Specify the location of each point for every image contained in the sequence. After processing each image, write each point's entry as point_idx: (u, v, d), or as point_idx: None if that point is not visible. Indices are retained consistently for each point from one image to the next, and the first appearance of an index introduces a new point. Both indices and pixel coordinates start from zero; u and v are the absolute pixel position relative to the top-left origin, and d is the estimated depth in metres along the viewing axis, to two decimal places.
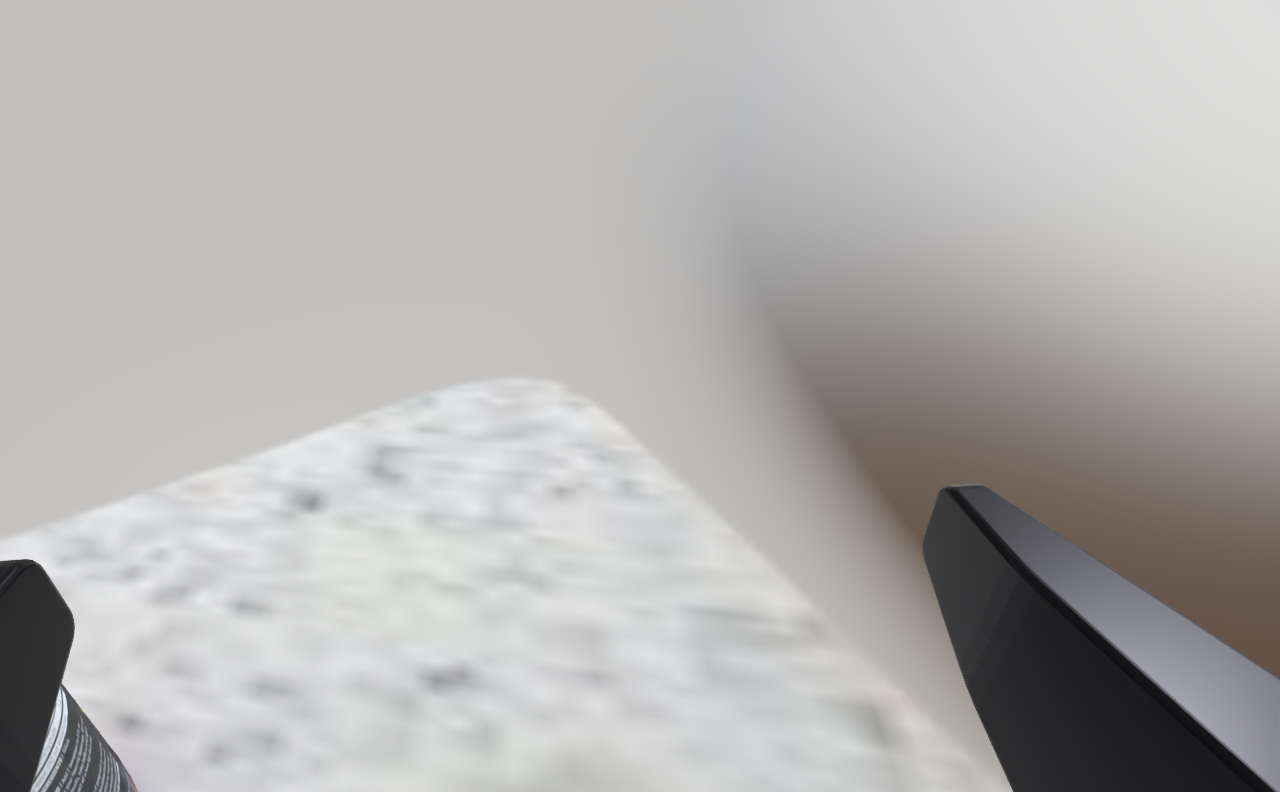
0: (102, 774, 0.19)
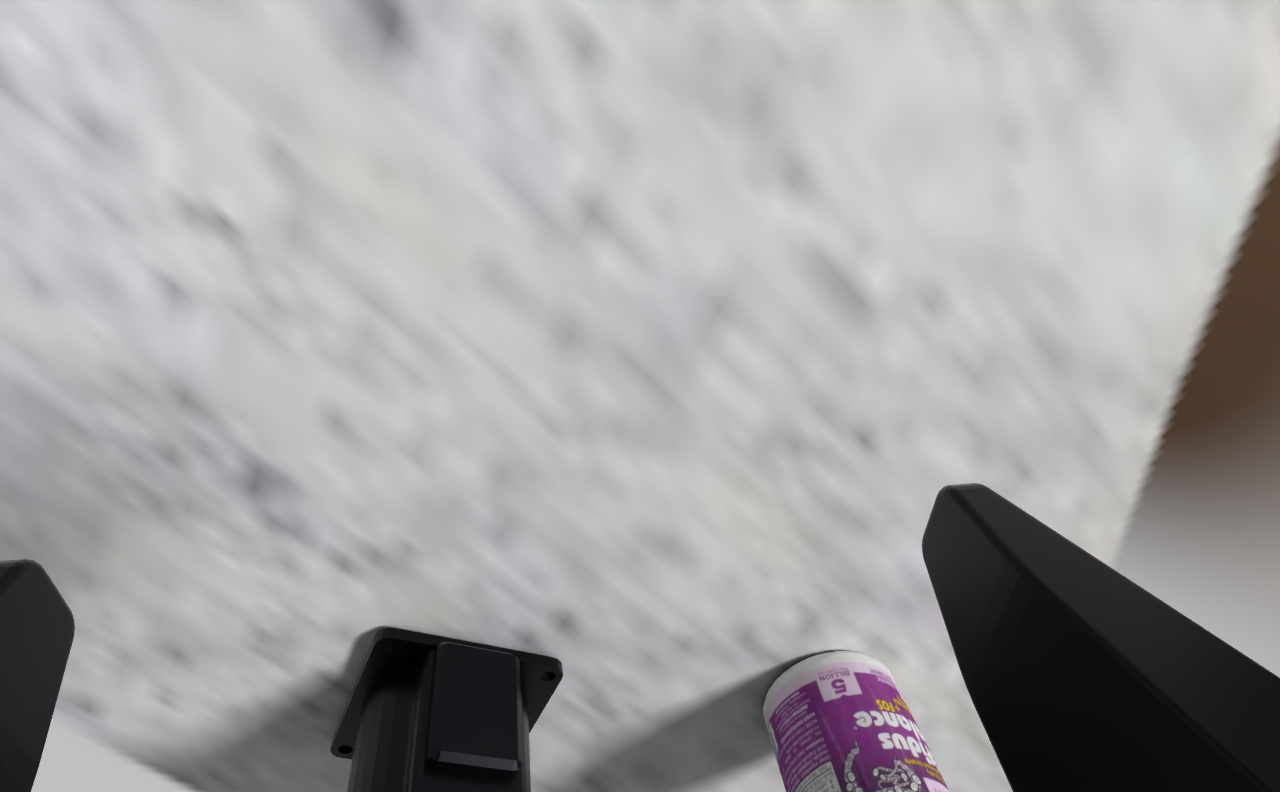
0: None
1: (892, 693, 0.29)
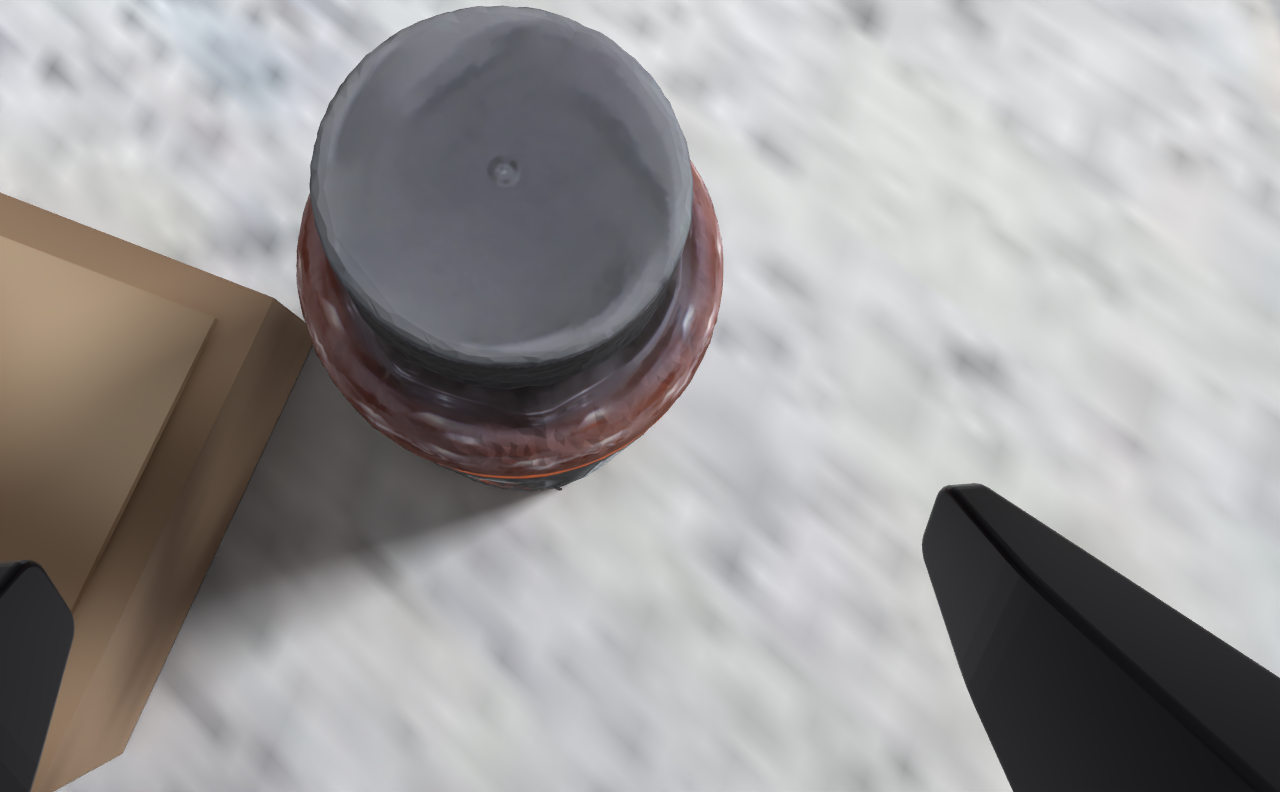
0: None
1: None
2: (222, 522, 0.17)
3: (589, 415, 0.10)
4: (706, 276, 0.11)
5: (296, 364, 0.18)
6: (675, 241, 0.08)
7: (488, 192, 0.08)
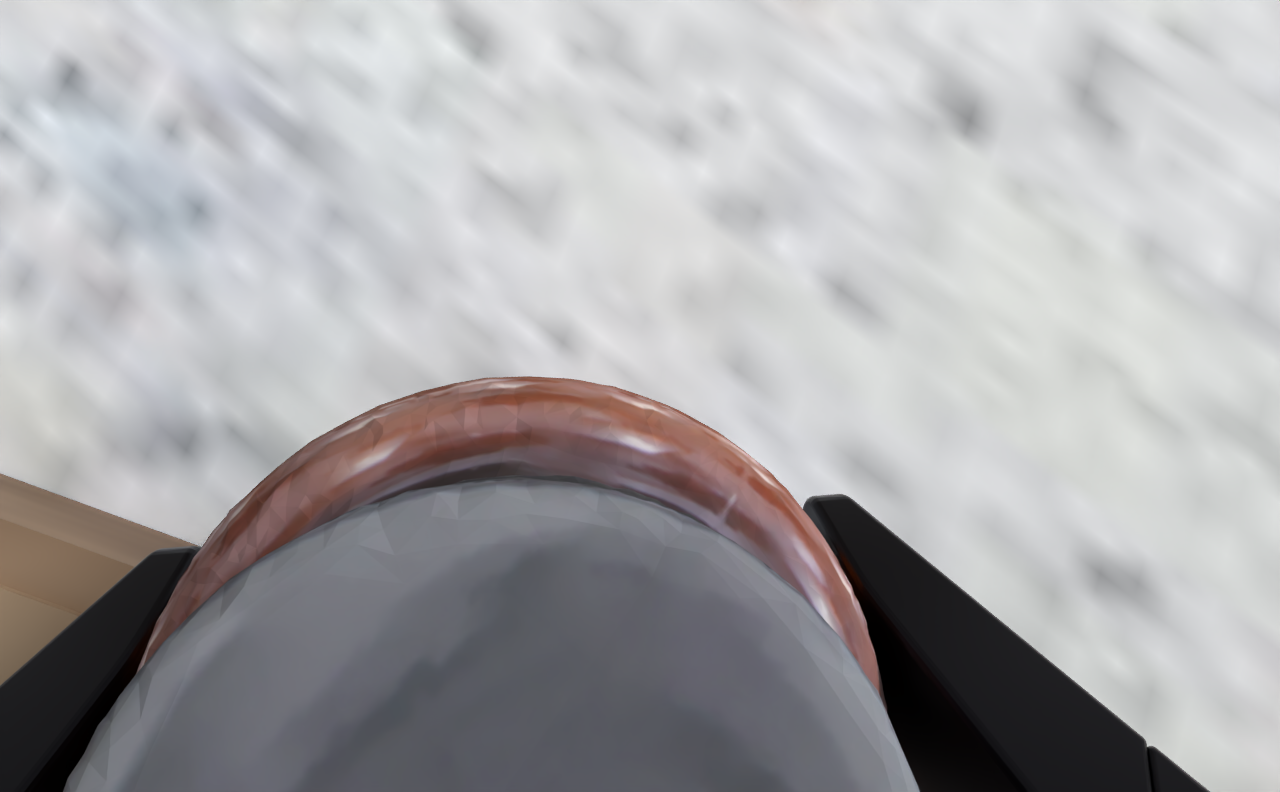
0: None
1: None
2: None
3: None
4: None
5: None
6: None
7: None
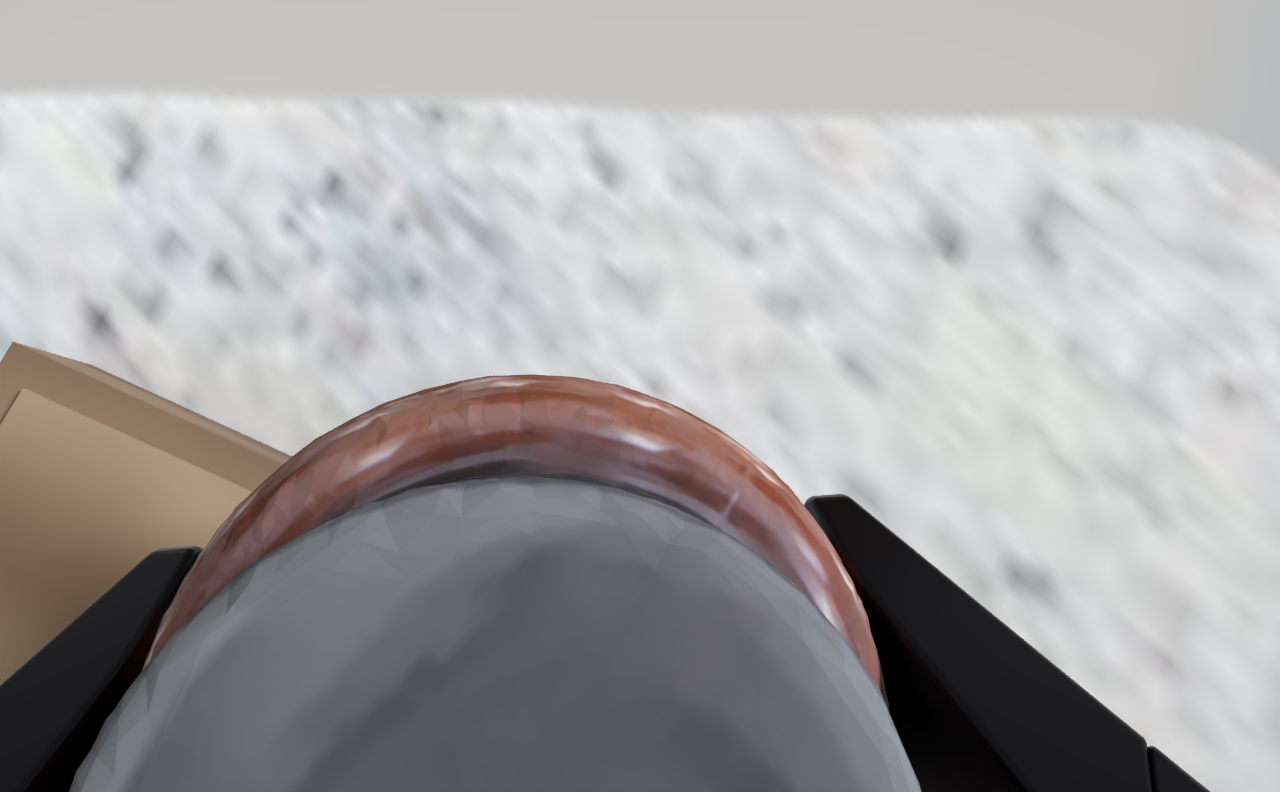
0: None
1: None
2: None
3: None
4: None
5: None
6: None
7: None
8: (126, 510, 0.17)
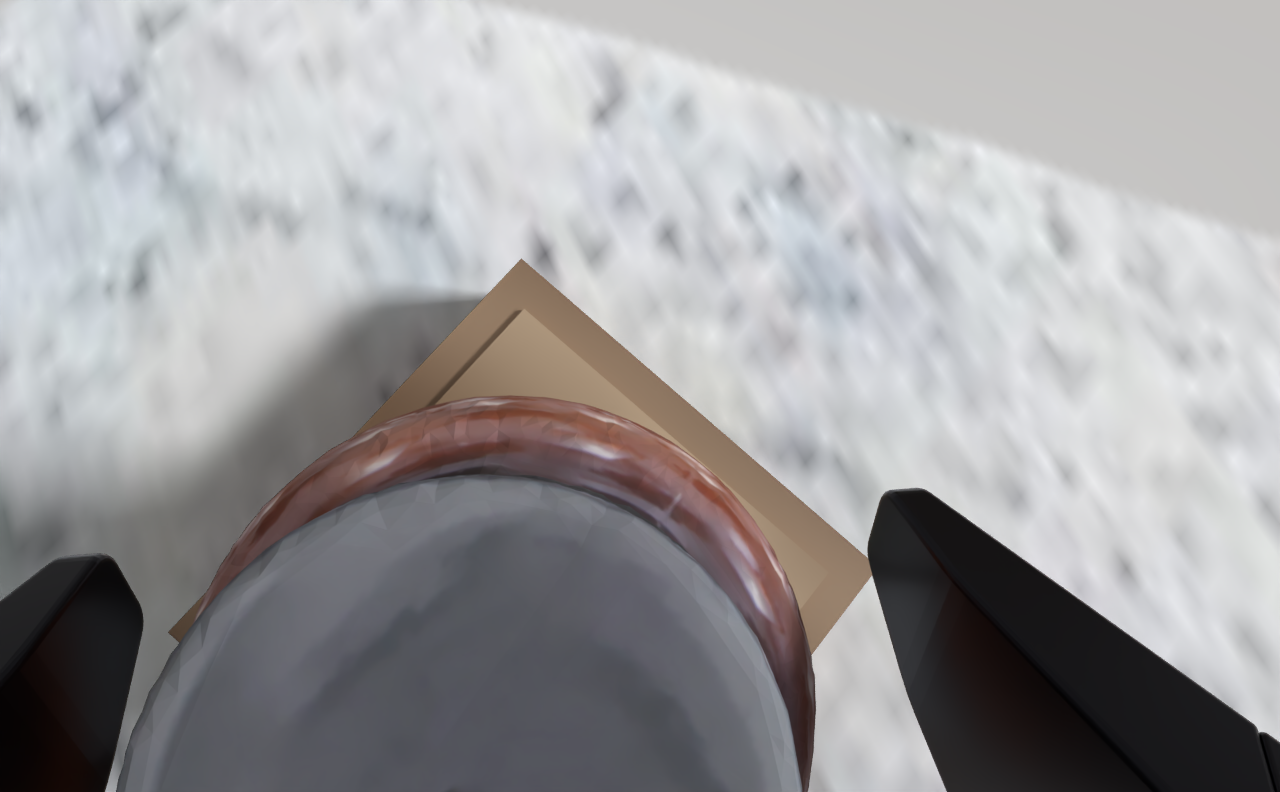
0: None
1: None
2: None
3: None
4: (795, 750, 0.07)
5: None
6: None
7: None
8: None
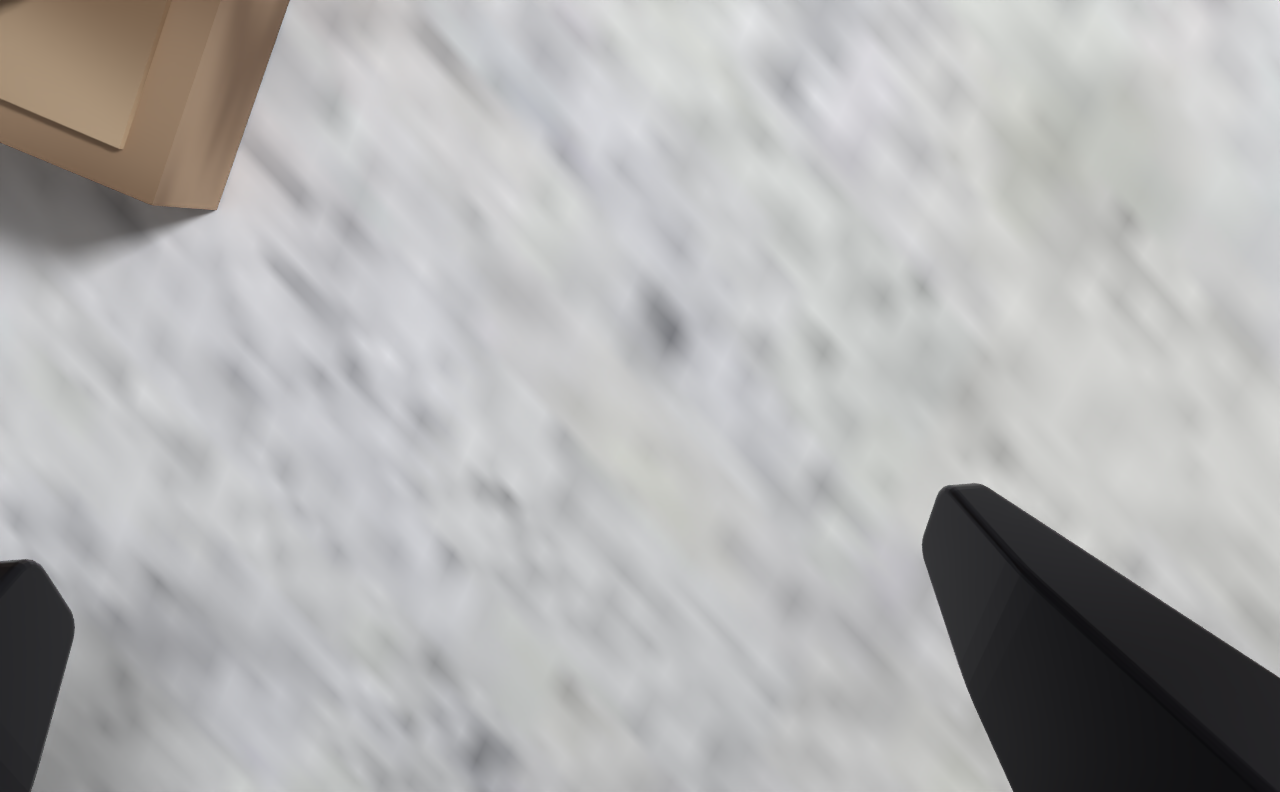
0: None
1: None
2: None
3: None
4: None
5: None
6: None
7: None
8: None
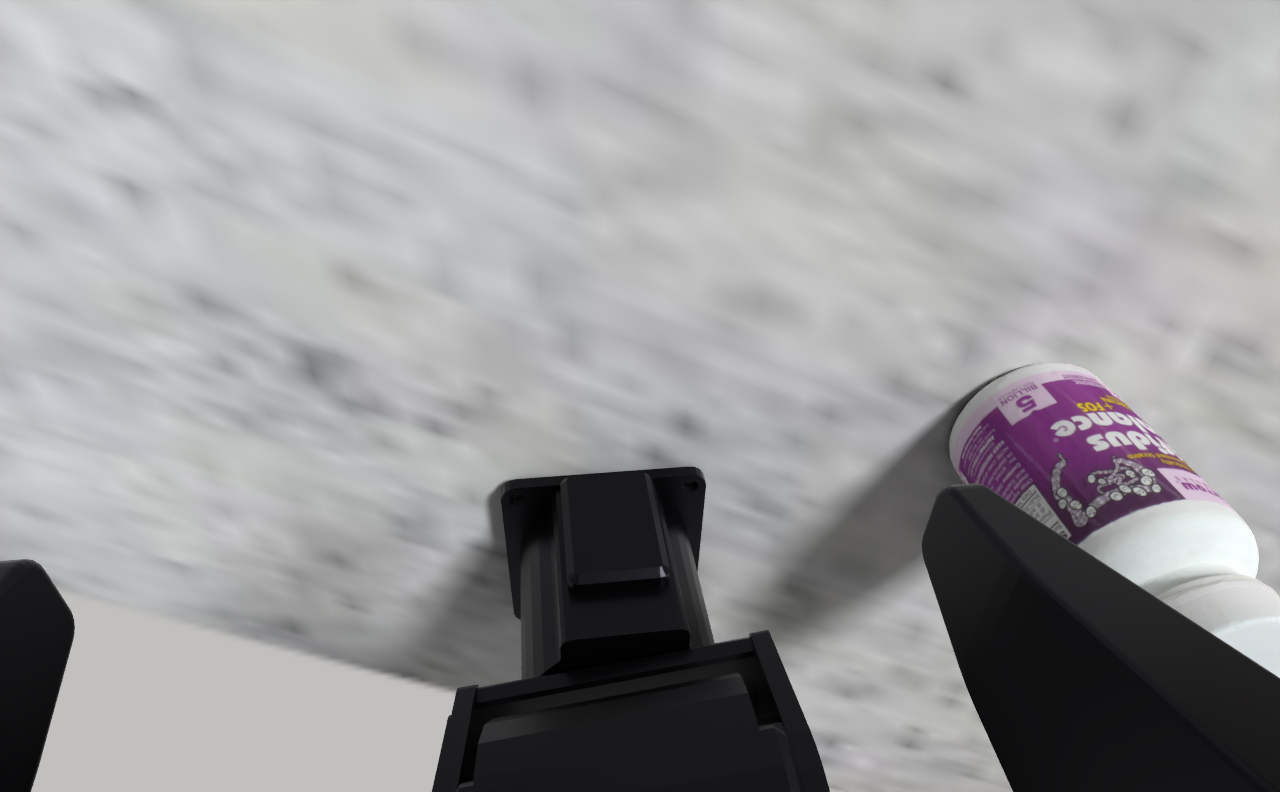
0: None
1: (1099, 392, 0.23)
2: None
3: None
4: None
5: None
6: None
7: None
8: None
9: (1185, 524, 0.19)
